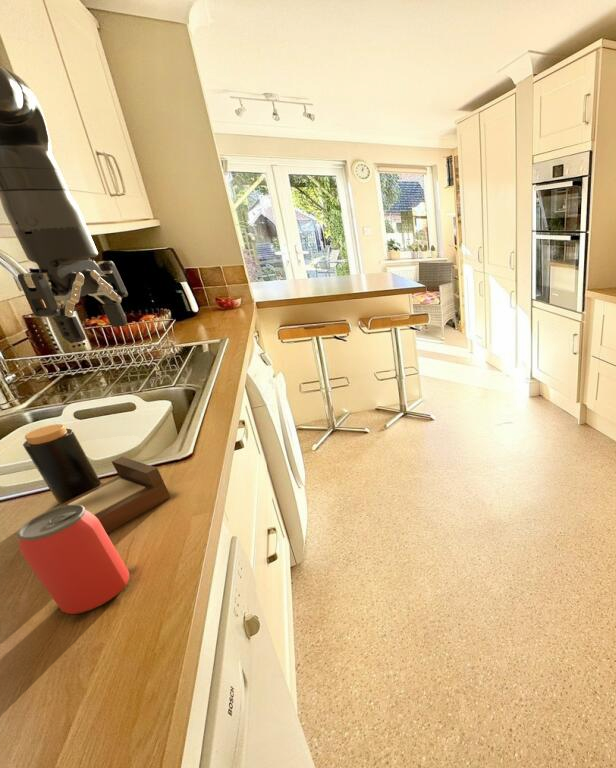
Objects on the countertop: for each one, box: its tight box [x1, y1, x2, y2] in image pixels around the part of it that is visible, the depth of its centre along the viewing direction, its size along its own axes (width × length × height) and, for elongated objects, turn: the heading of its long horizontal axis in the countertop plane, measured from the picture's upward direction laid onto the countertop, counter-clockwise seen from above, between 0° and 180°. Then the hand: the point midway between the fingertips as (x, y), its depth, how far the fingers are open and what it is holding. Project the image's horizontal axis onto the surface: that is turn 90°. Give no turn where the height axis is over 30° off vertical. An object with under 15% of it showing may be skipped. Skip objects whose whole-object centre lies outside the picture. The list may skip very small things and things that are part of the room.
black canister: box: [22, 423, 103, 506], centre depth 68 cm, size 6×6×13 cm
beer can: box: [16, 505, 130, 615], centre depth 50 cm, size 7×7×12 cm
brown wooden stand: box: [46, 456, 171, 534], centre depth 66 cm, size 10×11×6 cm
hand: (99, 333), depth 66 cm, fingers open, 8 cm apart
